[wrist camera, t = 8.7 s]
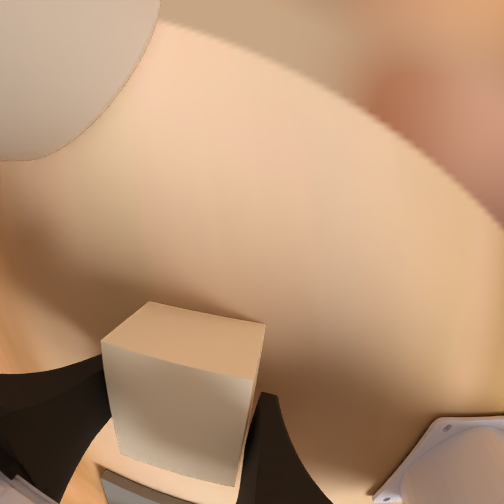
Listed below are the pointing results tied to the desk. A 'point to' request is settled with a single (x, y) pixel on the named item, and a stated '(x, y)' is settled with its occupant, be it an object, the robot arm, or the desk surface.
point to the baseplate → (132, 492)
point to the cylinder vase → (64, 67)
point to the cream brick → (183, 389)
